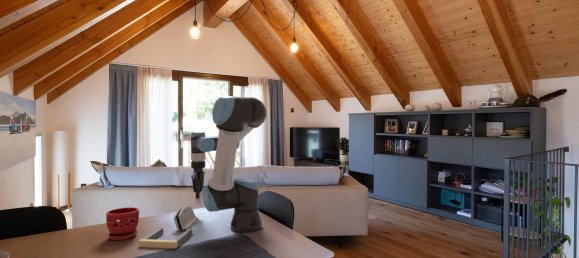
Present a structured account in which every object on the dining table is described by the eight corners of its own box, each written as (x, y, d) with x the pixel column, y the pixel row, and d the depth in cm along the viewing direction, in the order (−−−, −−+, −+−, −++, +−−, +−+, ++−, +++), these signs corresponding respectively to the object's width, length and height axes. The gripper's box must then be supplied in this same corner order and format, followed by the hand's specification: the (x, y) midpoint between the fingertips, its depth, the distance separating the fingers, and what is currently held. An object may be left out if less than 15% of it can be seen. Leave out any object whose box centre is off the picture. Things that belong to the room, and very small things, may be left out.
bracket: (192, 234, 146) (192, 229, 145) (175, 248, 130) (175, 242, 130) (159, 233, 147) (159, 227, 147) (138, 246, 132) (138, 240, 131)
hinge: (188, 231, 149) (180, 211, 149) (178, 235, 150) (171, 215, 150) (199, 220, 166) (193, 202, 166) (191, 223, 166) (184, 205, 166)
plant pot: (144, 236, 144) (143, 209, 144) (112, 244, 134) (112, 216, 134) (132, 229, 153) (132, 204, 153) (102, 236, 143) (101, 210, 143)
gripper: (196, 158, 179) (196, 200, 180) (186, 162, 166) (186, 207, 167) (209, 159, 178) (209, 201, 179) (200, 162, 165) (200, 207, 166)
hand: (198, 203), depth 173 cm, fingers closed
